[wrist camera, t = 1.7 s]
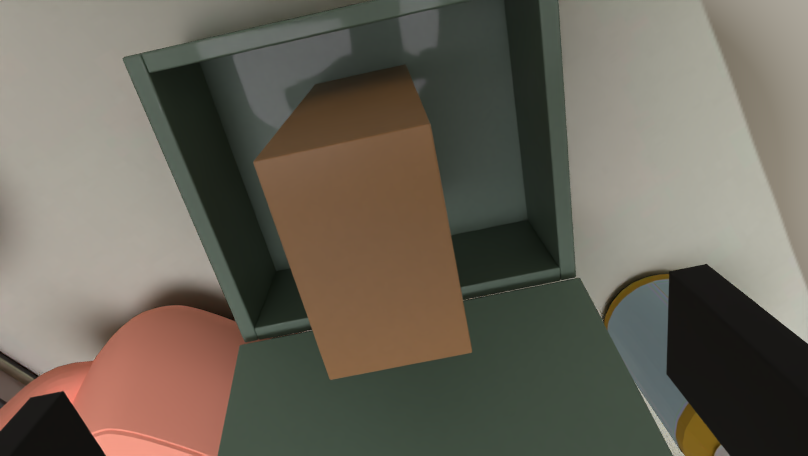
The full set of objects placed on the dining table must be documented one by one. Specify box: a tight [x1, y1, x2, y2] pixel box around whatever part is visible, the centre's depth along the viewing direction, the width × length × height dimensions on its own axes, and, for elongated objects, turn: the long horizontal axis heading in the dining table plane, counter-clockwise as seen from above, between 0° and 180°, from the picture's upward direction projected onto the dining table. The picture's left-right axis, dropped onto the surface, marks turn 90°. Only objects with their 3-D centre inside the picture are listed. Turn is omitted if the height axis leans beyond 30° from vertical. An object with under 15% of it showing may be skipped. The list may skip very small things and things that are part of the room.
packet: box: [253, 64, 472, 380], centre depth 21 cm, size 8×5×14 cm, turn 12°
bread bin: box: [123, 0, 576, 342], centre depth 25 cm, size 15×18×7 cm
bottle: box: [604, 274, 730, 456], centre depth 28 cm, size 7×7×15 cm
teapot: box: [0, 305, 270, 456], centre depth 29 cm, size 13×20×12 cm, turn 61°
